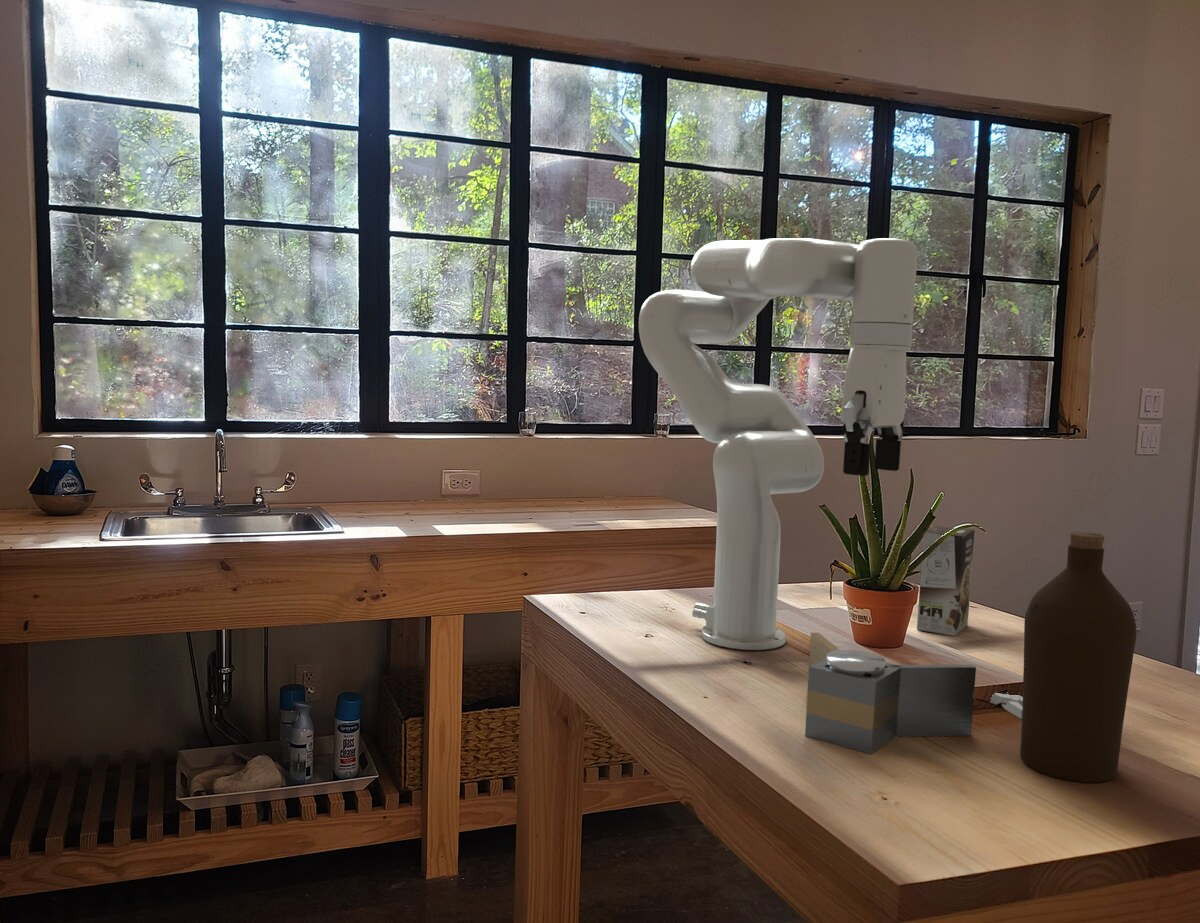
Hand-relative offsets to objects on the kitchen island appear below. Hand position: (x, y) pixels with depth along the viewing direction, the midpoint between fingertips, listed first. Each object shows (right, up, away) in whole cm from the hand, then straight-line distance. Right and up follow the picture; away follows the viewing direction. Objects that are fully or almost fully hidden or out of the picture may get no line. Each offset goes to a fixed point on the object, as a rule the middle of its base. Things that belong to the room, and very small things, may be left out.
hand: (871, 472), depth 128 cm
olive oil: (+15, -31, -22) cm, 41 cm away
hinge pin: (-7, -29, -16) cm, 34 cm away
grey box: (-4, -29, -13) cm, 33 cm away
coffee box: (+21, -26, +34) cm, 48 cm away
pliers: (+16, -30, 0) cm, 34 cm away
